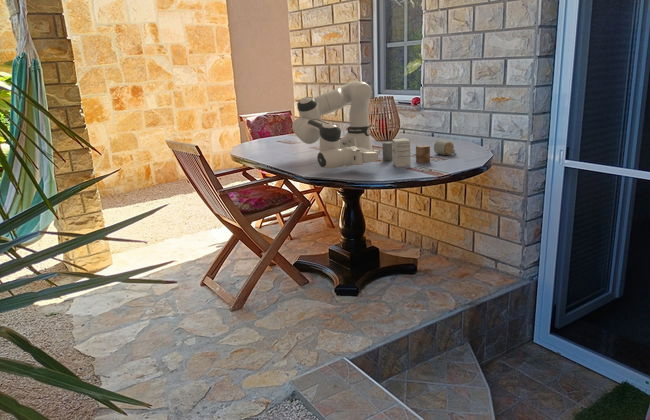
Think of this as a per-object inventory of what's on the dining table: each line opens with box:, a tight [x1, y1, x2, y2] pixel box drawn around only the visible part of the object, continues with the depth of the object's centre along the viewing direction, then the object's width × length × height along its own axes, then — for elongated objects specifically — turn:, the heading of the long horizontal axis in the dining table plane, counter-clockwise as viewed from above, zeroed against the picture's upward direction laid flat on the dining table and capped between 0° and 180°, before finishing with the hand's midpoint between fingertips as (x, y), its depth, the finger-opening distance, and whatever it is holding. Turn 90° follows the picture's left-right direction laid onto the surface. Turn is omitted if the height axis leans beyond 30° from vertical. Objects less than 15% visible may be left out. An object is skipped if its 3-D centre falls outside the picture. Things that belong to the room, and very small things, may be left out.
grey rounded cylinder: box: [382, 141, 393, 162], centre depth 259 cm, size 5×5×9 cm
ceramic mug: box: [433, 139, 456, 156], centre depth 265 cm, size 11×8×8 cm
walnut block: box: [415, 144, 431, 164], centre depth 249 cm, size 5×5×8 cm
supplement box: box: [391, 137, 411, 168], centre depth 245 cm, size 7×7×13 cm
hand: (378, 152), depth 240 cm, fingers closed
